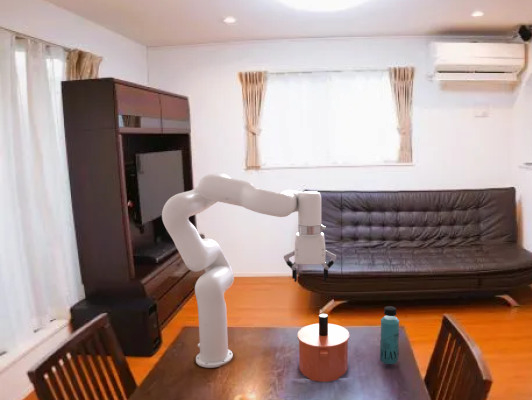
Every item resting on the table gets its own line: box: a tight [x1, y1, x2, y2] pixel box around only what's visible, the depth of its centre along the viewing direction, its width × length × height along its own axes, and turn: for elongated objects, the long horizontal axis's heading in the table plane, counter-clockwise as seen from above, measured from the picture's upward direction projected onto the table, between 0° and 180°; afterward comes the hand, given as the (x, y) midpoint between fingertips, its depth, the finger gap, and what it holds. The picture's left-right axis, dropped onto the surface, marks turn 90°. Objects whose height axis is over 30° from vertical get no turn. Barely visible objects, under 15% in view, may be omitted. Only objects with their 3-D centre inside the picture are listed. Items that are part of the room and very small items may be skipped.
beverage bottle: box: [379, 305, 400, 365], centre depth 145 cm, size 6×7×20 cm
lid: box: [297, 313, 350, 348], centre depth 142 cm, size 17×17×8 cm
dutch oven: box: [298, 340, 349, 383], centre depth 143 cm, size 16×21×12 cm
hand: (310, 280), depth 141 cm, fingers open, 9 cm apart
